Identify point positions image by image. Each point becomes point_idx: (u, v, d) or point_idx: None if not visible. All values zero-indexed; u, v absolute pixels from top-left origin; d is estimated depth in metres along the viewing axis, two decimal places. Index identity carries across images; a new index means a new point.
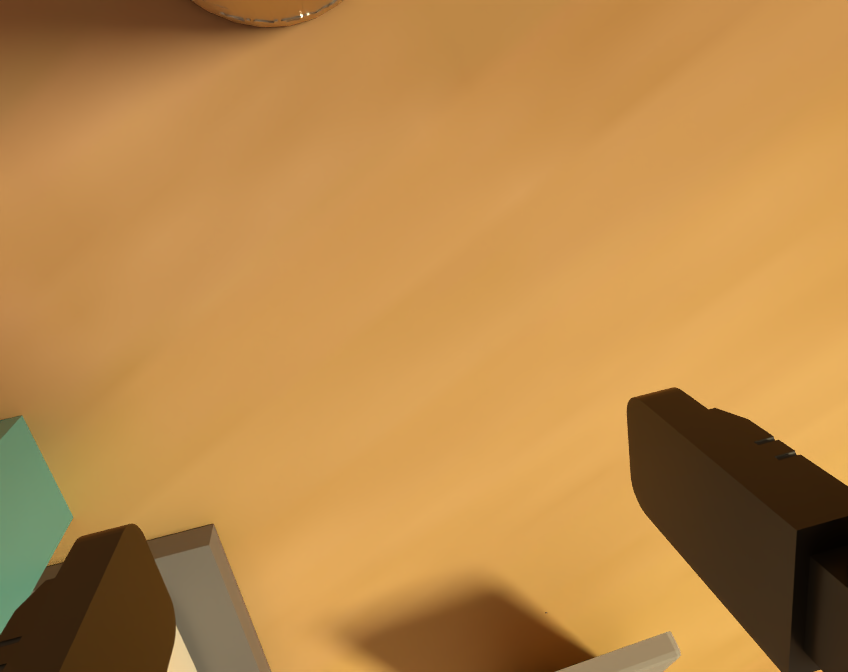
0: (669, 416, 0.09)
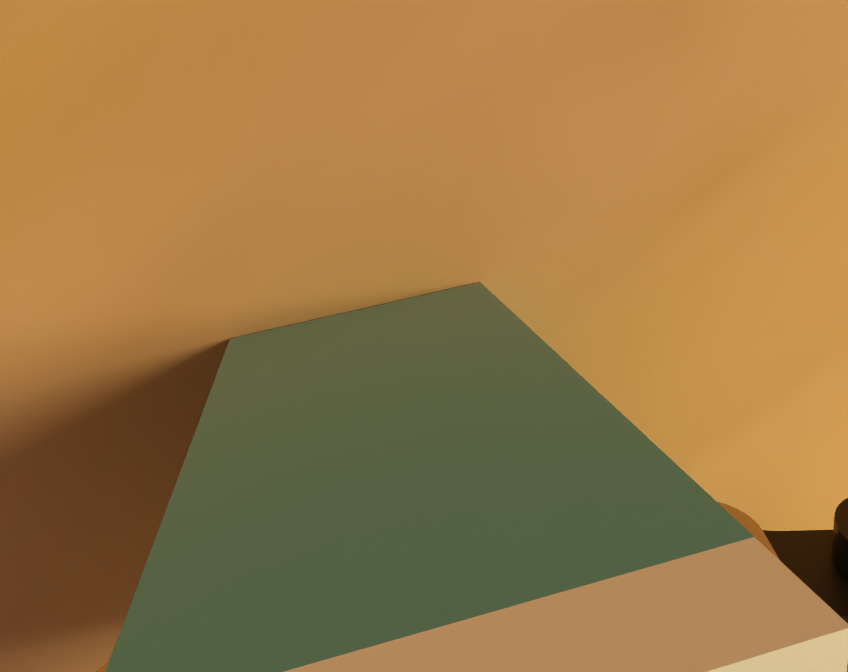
0: None
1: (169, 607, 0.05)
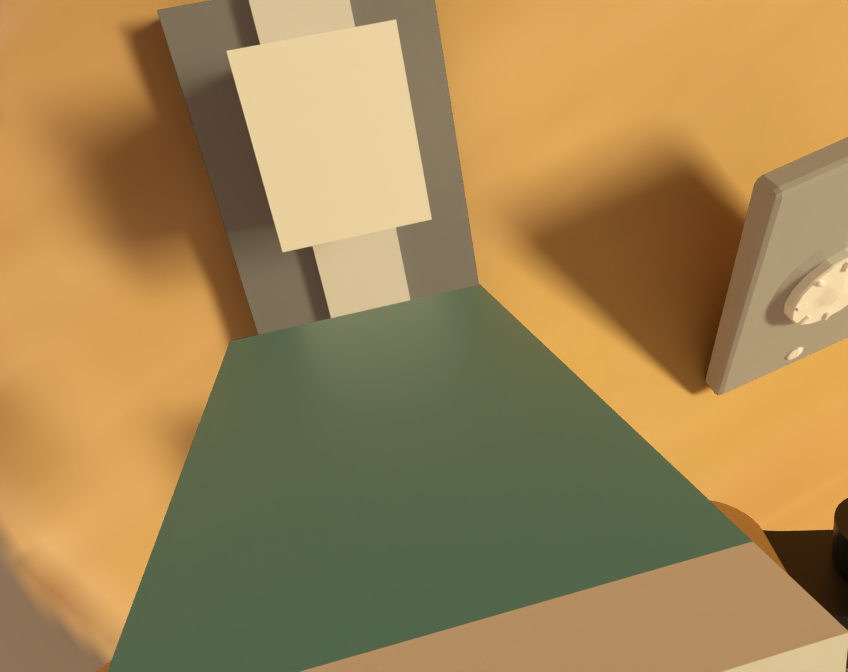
0: None
1: (170, 613, 0.05)
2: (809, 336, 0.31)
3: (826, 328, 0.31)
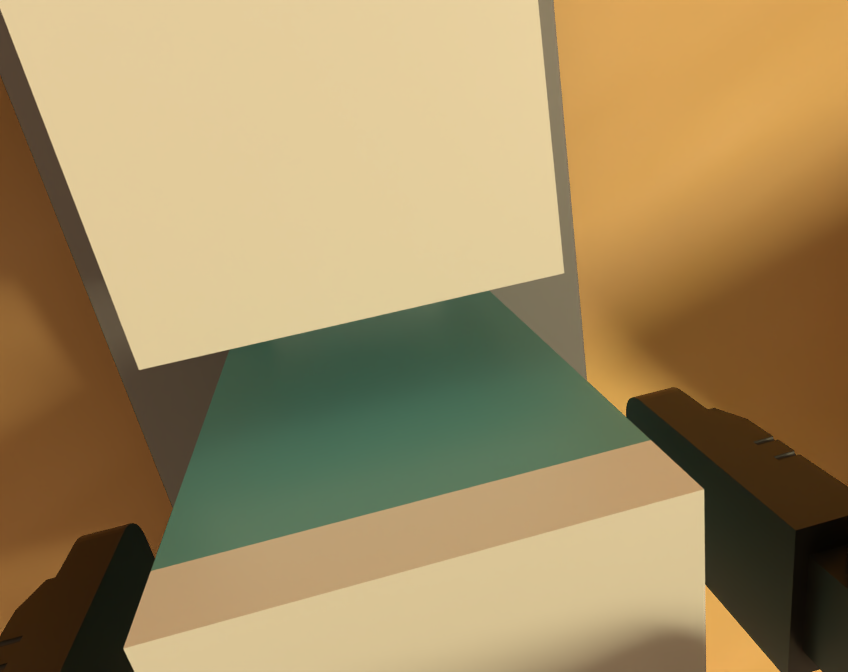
0: (668, 416, 0.09)
1: (206, 500, 0.06)
2: None
3: None
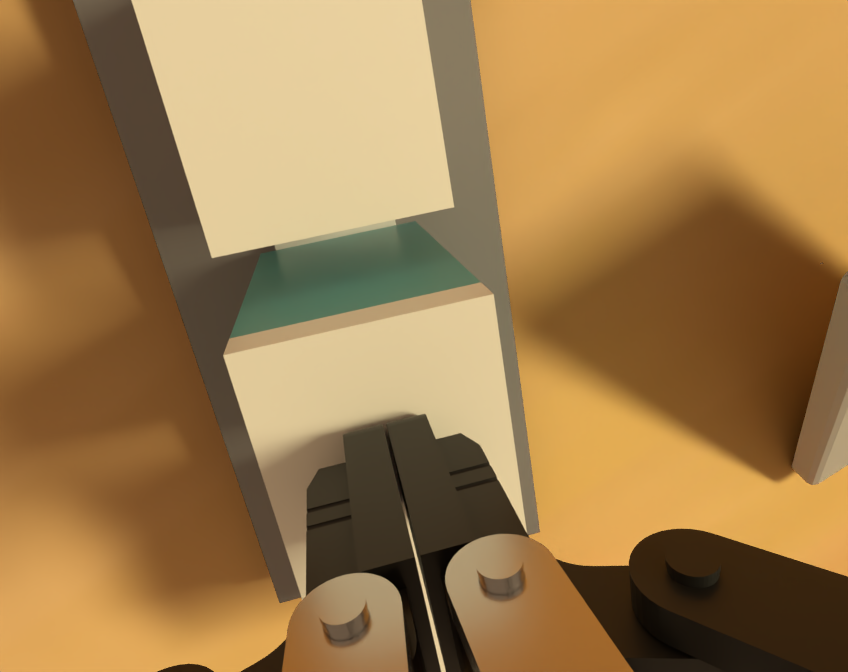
0: (399, 443, 0.09)
1: (252, 319, 0.11)
2: None
3: None
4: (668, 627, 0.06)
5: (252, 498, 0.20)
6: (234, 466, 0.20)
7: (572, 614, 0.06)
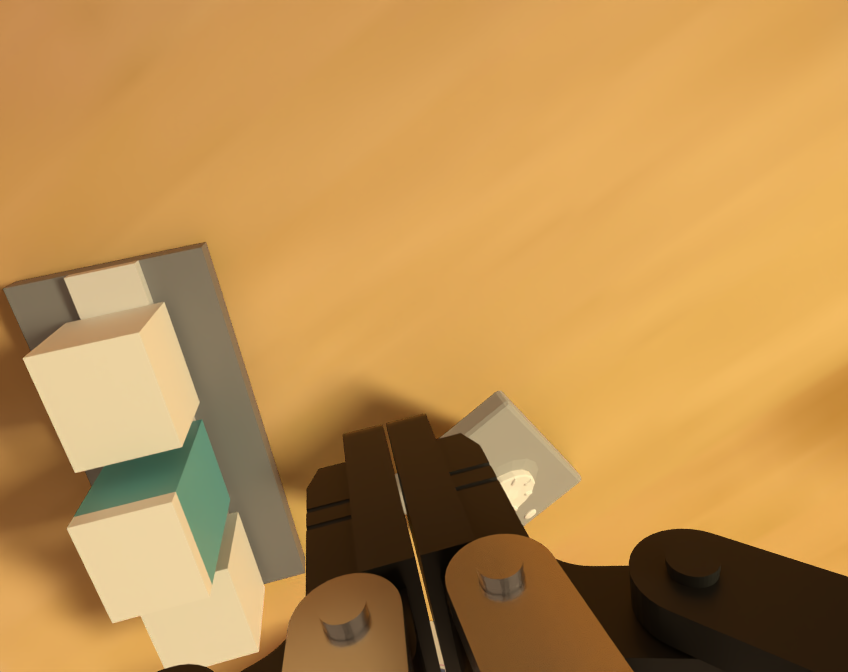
0: (399, 442, 0.09)
1: (87, 503, 0.28)
2: (531, 504, 0.40)
3: (543, 495, 0.40)
4: (668, 628, 0.06)
5: None
6: None
7: (572, 614, 0.06)
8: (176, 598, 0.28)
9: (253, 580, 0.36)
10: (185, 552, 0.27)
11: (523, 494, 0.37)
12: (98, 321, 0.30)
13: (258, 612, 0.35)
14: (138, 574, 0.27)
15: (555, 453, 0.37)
